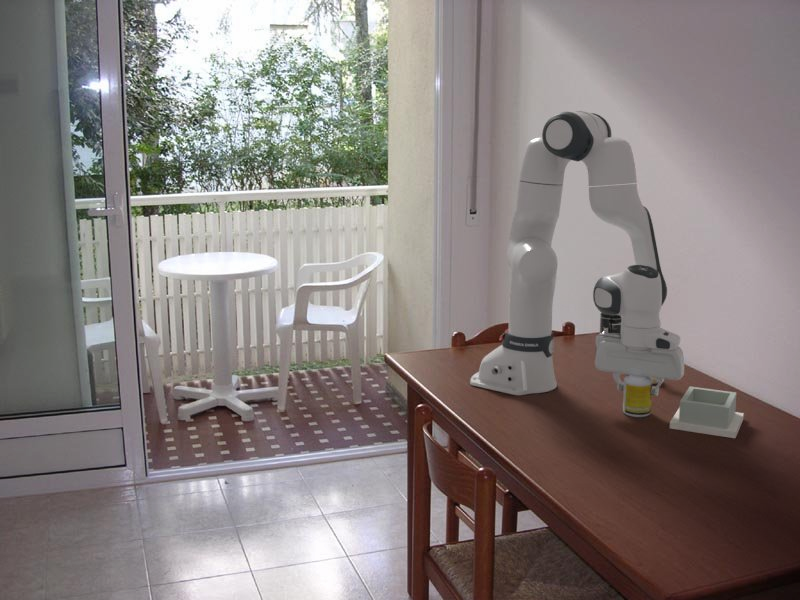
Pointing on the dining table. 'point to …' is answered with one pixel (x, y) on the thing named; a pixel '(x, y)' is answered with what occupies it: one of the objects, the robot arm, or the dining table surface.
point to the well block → (708, 413)
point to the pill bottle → (637, 394)
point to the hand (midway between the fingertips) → (637, 392)
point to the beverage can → (610, 323)
